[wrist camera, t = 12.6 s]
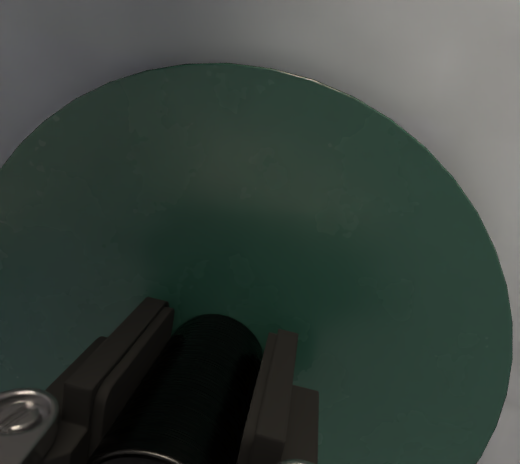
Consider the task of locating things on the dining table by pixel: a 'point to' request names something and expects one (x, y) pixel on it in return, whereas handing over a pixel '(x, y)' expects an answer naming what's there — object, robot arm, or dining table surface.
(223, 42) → the dining table surface
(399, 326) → the pot lid
